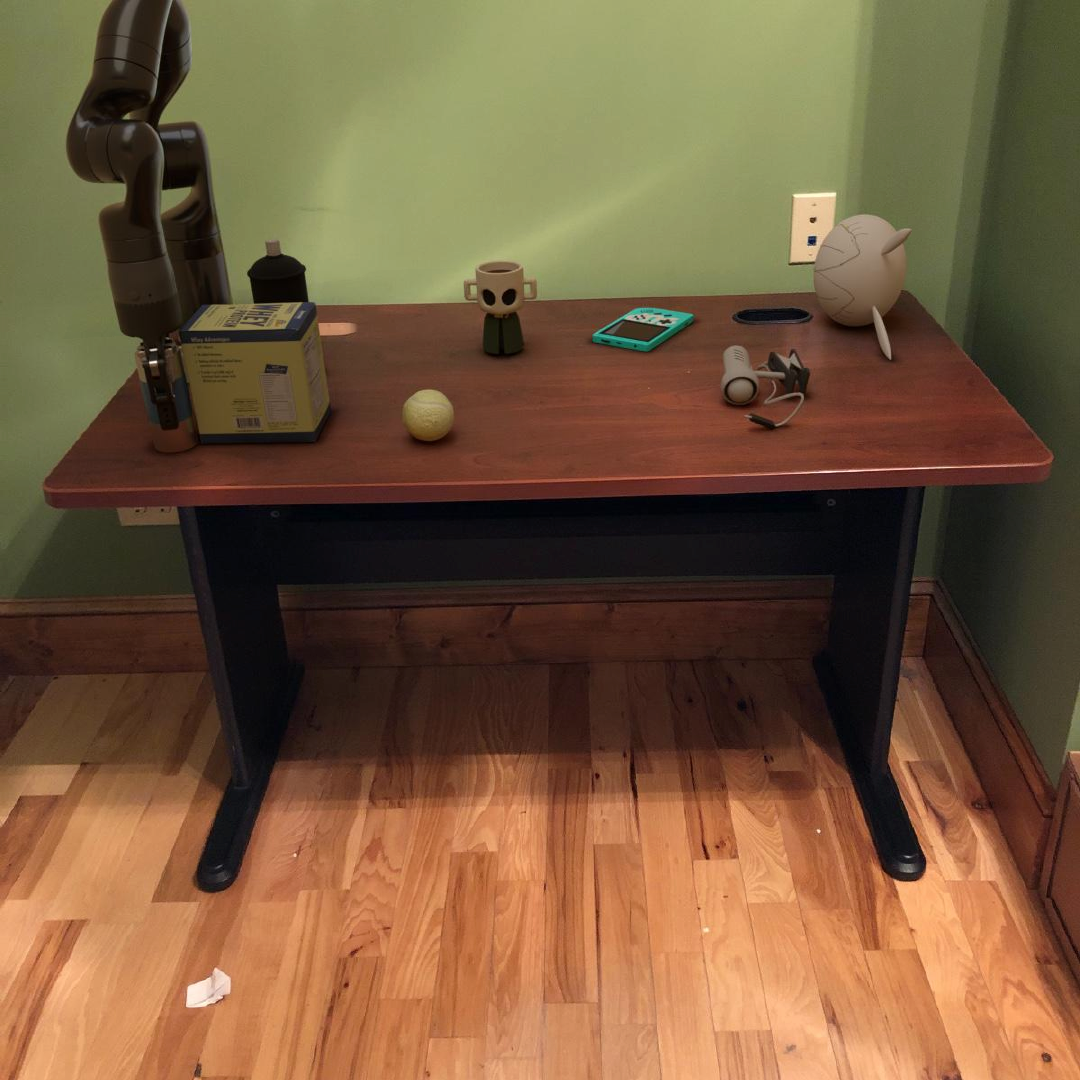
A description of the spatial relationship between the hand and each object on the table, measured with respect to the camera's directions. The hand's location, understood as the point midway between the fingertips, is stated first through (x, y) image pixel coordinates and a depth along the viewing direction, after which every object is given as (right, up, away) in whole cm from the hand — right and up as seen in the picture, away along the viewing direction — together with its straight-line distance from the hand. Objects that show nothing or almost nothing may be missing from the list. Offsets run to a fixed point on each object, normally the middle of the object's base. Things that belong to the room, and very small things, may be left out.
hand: (171, 418), depth 147 cm
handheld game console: (+64, +17, +33) cm, 74 cm away
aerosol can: (+11, +9, +22) cm, 26 cm away
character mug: (+42, +13, +28) cm, 52 cm away
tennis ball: (+33, -3, 0) cm, 33 cm away
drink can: (0, -3, +2) cm, 4 cm away
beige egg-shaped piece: (+97, +17, +30) cm, 103 cm away
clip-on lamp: (+78, +2, +6) cm, 78 cm away
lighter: (-5, +8, +21) cm, 23 cm away
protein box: (+11, -1, +5) cm, 12 cm away
